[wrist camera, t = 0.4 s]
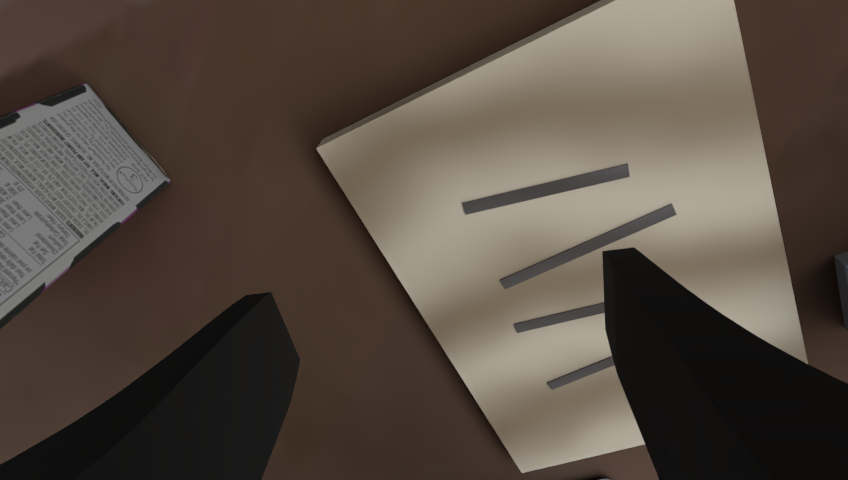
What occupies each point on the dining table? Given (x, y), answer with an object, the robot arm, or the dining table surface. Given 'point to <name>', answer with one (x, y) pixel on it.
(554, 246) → the marked board
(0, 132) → the candy bar box
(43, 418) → the dining table surface
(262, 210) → the dining table surface
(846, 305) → the block
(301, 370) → the dining table surface
